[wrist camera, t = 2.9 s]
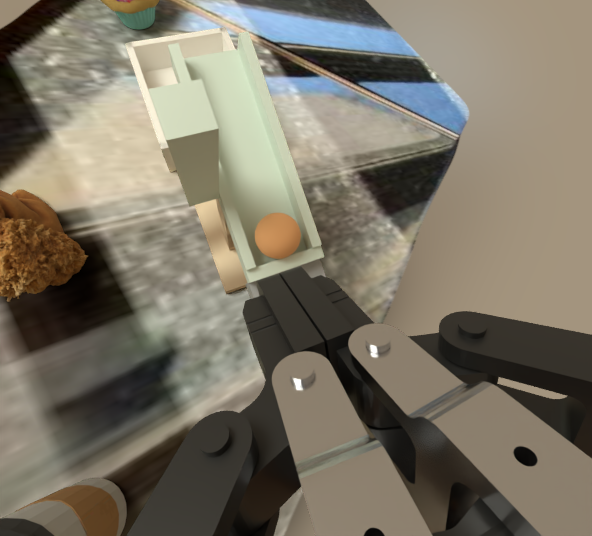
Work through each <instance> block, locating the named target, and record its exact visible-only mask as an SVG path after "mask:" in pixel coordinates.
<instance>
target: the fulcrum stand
mask: <svg viewBox="0 0 592 536" xmlns="http://www.w3.org/2000/svg"><path fill="white" fill-rule="evenodd" d="M195 207H196V210H197V213H198V216H199V219H200V222H201V224H202V227H203V230H204V233H205V236H206V239H207V241H208V244H209V247H210V250H211V253H212V255H213V258H214V261H215V264H216V267H217V270H218V272H219V275H220V278H221V281H222V284H223V287H224V289H225V292H226V294H227V293H230V292H233V291H236V290H239V289H241V288H244V287H246V283H247V280H246V277H245V275H244V272H243V269H242V266H241V263H240V260H239V257H238V254H237V252H236V249H235V246H234V243H233V240H232V237H231V234H230V232H229V229H228V226H227V223H226V220H225V217H224V214H223V211H222V209H221V206H220V203H219V200H218V199H214V200H211V201H207V202H204V203H200V204H196V205H195Z"/></svg>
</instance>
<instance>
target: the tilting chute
mask: <svg viewBox="0 0 592 536" xmlns="http://www.w3.org/2000/svg"><path fill="white" fill-rule="evenodd" d="M168 49H169V53H170V58H171V63H172V68H173V71H174V74H175V77H176V80H177V82H178V84H172V85H167V86H162V87H157V88H152V89H148V90H149V93H150V96H151V99H152V102H153V104H154V107H155V110H156V113H157V116H158V119H159V122H160V124H161V127H162V130H163V133H164V136H165V139H166V142H167V144H168V147H169V150H170V153H171V156H172V158H173V161H174V164H175V167H176V170H177V172H178V175H179V178H180V181H181V184H182V186H183V189H184V192H185V195H186V198H187V200H188V203H189V206H193V205H196V204H200V203H204V202H207V201H211V200H214V199H218V200H219V203H220V206H221V209H222V211H223V214H224V217H225V220H226V223H227V226H228V229H229V232H230V234H231V237H232V240H233V243H234V246H235V249H236V252H237V254H238V257H239V260H240V263H241V266H242V269H243V272H244V275H245V277H246V280H247V283H246V287H247V290H248V293H249V296H250V299H253V298H256V297H258V296H259V292H258V289H257V285H256V281H257V280H260V279H263V278H266V277H269V276H272V275H275V274H279V273H281V272H284V271H287V270H290V269H293V268H296V267H299V266H301V267H302V268H303V269H304V270H305V271H306V272H307V273H308V275H309V276H310V277H311V278H314V277H316V276H319V275H322V276H324V277H326V275H325V272H324V269H323V266H322V263H321V260H320V258H322V257H324V254H323V251H322V248H321V245H322V243H321V240H320V238H319V235H318V232H317V229H316V226H315V223H314V220H313V217H312V214H311V212H310V209H309V206H308V203H307V200H306V197H305V194H304V191H303V188H302V185H301V183H300V180H299V177H298V174H297V171H296V168H295V165H294V162H293V159H292V156H291V154H290V151H289V148H288V145H287V142H286V139H285V136H284V133H283V130H282V127H281V125H280V122H279V119H278V116H277V113H276V110H275V107H274V104H273V101H272V99H271V96H270V93H269V90H268V87H267V84H266V81H265V78H264V75H263V72H262V70H261V67H260V64H259V61H258V58H257V55H256V52H255V49H254V46H253V43H252V41H251V38H250V35H249V32H243V33H239V37H238V49H235V50H230V51H224V52H218V53H213V54H207V55H201V56H196V57H190V58H183V55H182V52H181V49H180V47H179V44H178V43H176V44H170V45H168ZM271 213H284V214H287V215H289V216H290V217H292V218H293V219H294V220H295V221H296V222H297V224H298V226H299V228H300V232H301V239H300V243H299V246H298V248H297V249H296V251H295V252H294V253H293V254H291V255H290V256H288V257H286V258H282V259H274V258H270V257H268V256H266V255H264V254H263V253H262V252H261V251H260V250H259V248H258V247H257V245H256V242H255V230H256V227H257V225H258V223H259V222H260V220H261V219H262V218H264V217H265V216H267V215H268V214H271Z"/></svg>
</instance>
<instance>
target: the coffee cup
mask: <svg viewBox="0 0 592 536" xmlns="http://www.w3.org/2000/svg"><path fill="white" fill-rule="evenodd" d="M126 517H127V507H126V501H125V498H124V495H123V494H122V492H121V490H120V489H119V487H118V486H116V485H115V484H114V483H113V482H111V481H109V480H106V479H103V478H91V479H87V480H83V481H81V482H79V483H77V484H74V485H72V486H70V487H66V488H64V489H61V490H59V491H57V492H55V493H53V494H50V495H48V496H46V497H44V498H42V499H39V500H37V501H35V502H33V503H31V504H29V505H27V506H25V507H23V508H21V509H19V510H17V511H15V512H14V513H12V514H10V515H8V516H5V517H3V518H1V519H0V536H120V535H121V533H122V531H123V528H124V526H125V522H126Z"/></svg>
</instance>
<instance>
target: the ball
mask: <svg viewBox="0 0 592 536" xmlns="http://www.w3.org/2000/svg"><path fill="white" fill-rule="evenodd" d="M300 239H301V232H300V228H299V226H298V224H297V222H296V221H295V220H294V219H293V218H292V217H290V216H289V215H287V214H284V213H271V214H268V215H267V216H265V217H264V218H262V219H261V220H260V222H259V223H258V225H257V227H256V230H255V242H256V245H257V247H258V248H259V250H260V251H261V252H262V253H263V254H264V255H266V256H268V257H270V258H274V259H282V258H286V257H288V256H290V255H291V254H293V253H294V252H295V251H296V249H297V248H298V246H299V243H300Z"/></svg>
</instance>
